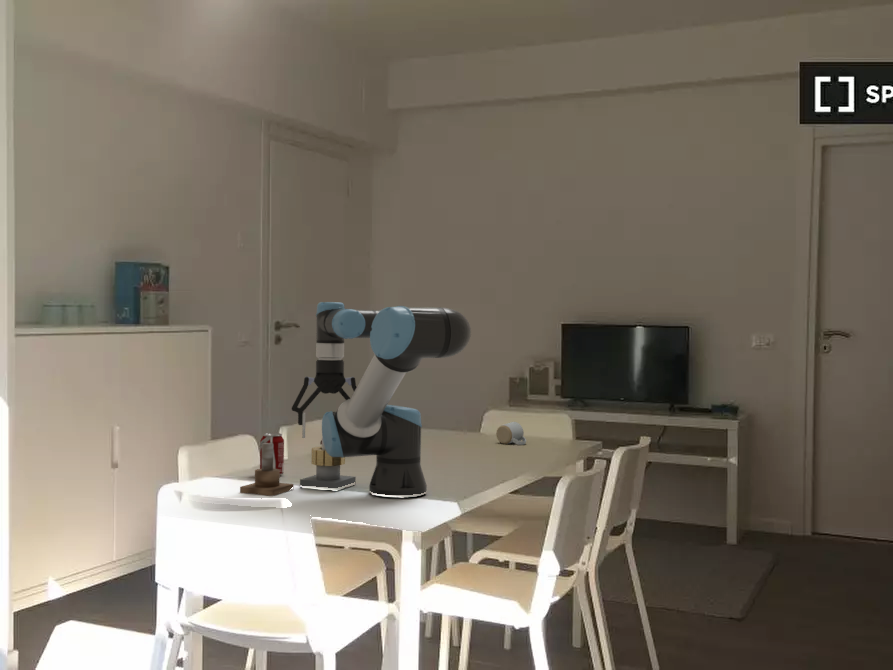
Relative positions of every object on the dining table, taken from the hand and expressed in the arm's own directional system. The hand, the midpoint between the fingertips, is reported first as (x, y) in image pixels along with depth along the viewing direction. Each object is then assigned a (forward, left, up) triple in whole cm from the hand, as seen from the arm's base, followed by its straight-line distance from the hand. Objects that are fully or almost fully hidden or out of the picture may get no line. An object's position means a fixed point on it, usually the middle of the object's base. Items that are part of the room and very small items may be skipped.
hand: (329, 437), depth 264 cm
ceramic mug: (-16, -110, -14) cm, 112 cm away
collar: (0, 0, -7) cm, 7 cm away
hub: (0, 0, -14) cm, 14 cm away
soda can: (+23, -8, -14) cm, 28 cm away
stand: (+11, +13, -14) cm, 22 cm away
